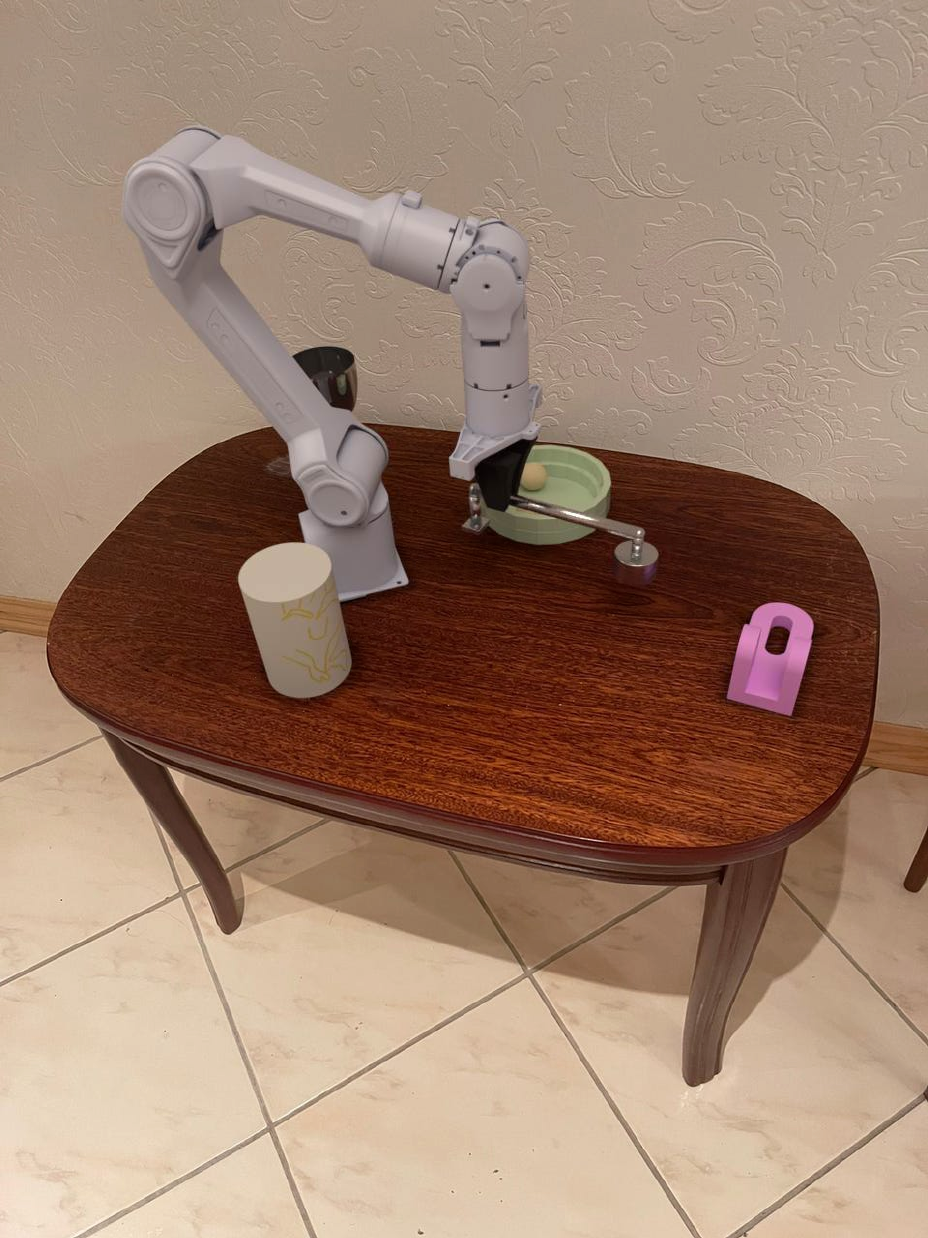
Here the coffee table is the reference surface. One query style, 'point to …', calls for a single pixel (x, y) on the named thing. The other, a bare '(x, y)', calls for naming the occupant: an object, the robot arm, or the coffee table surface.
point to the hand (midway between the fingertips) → (501, 503)
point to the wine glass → (331, 374)
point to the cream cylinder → (296, 618)
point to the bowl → (557, 497)
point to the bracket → (771, 659)
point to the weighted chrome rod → (630, 557)
